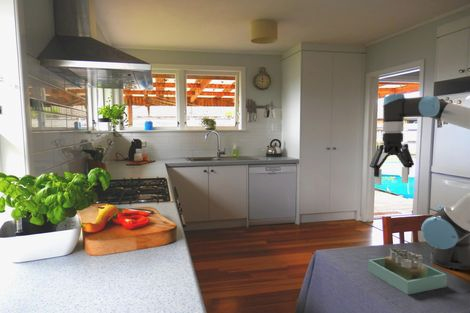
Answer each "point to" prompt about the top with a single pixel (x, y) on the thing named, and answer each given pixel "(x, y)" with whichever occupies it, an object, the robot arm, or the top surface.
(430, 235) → the robot arm
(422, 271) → the tan cardboard block
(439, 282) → the tote
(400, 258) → the egg carton
